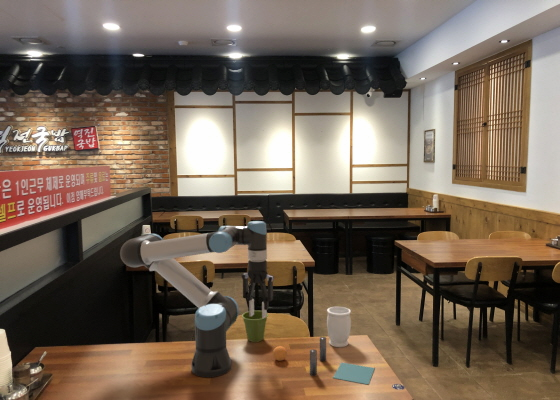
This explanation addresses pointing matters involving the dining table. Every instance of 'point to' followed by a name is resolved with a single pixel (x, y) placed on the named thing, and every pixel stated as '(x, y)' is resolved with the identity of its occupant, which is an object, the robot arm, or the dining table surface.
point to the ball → (279, 353)
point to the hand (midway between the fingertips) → (258, 316)
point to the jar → (338, 326)
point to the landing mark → (354, 373)
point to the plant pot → (254, 326)
